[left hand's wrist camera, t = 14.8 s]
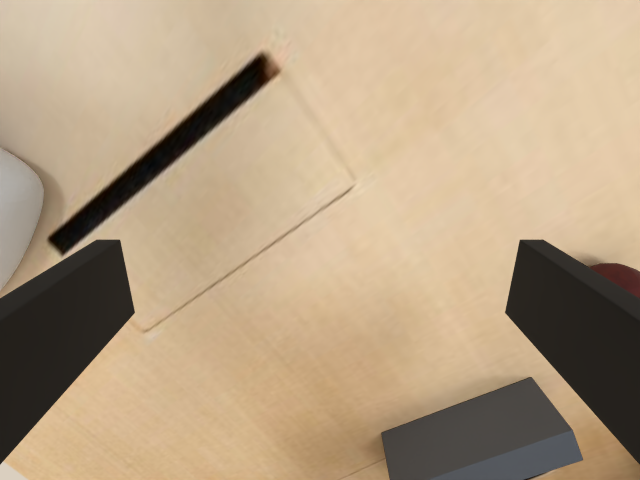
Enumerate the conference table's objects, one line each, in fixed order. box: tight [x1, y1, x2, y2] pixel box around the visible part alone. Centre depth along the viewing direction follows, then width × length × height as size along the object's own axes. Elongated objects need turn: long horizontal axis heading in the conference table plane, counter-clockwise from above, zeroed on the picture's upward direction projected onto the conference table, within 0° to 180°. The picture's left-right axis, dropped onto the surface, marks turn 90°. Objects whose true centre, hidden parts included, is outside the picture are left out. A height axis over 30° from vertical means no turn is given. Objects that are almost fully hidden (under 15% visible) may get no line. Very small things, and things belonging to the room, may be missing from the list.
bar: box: [381, 377, 583, 480], centre depth 46 cm, size 22×5×8 cm, turn 117°
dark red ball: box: [590, 263, 640, 298], centre depth 40 cm, size 7×8×7 cm
